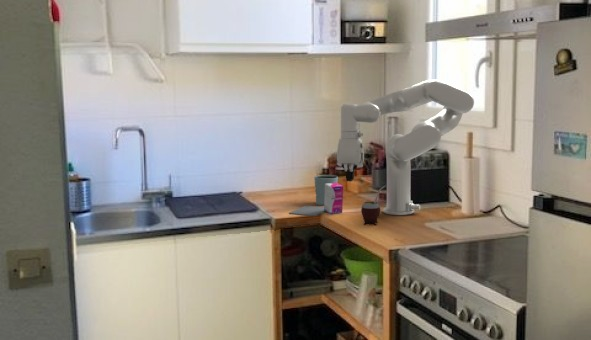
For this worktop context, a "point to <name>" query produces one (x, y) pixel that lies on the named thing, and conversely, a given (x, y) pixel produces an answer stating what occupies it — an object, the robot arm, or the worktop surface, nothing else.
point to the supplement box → (333, 198)
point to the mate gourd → (371, 211)
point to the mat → (308, 210)
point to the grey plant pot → (323, 186)
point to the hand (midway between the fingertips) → (349, 180)
